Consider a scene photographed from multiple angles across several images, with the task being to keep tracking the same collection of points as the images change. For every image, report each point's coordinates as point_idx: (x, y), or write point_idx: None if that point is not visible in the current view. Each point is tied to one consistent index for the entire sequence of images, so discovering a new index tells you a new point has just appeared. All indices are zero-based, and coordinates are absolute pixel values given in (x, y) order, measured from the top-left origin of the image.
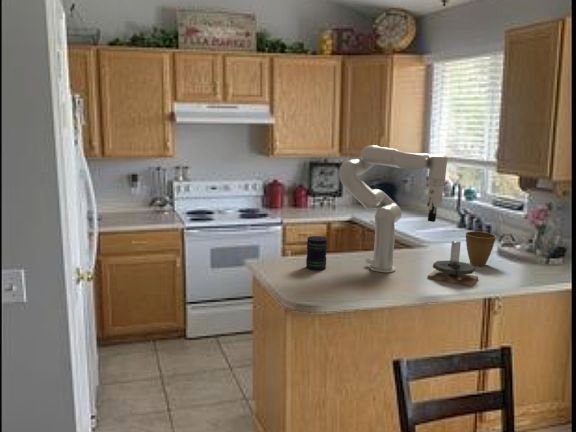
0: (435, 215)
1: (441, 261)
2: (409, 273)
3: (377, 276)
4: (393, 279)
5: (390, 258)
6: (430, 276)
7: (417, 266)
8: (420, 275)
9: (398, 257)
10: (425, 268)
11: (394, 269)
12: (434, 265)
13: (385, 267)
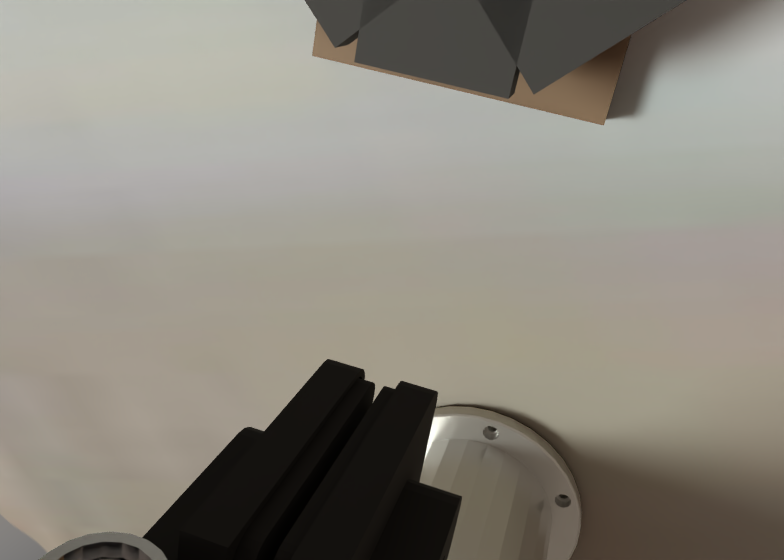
0: (330, 505)
1: (350, 9)
2: (496, 290)
3: (716, 537)
4: (770, 417)
5: (500, 524)
6: (612, 93)
7: (234, 233)
8: (521, 191)
9: (67, 383)
10: (259, 162)
11: (498, 422)
12: (561, 76)
13: (543, 505)
